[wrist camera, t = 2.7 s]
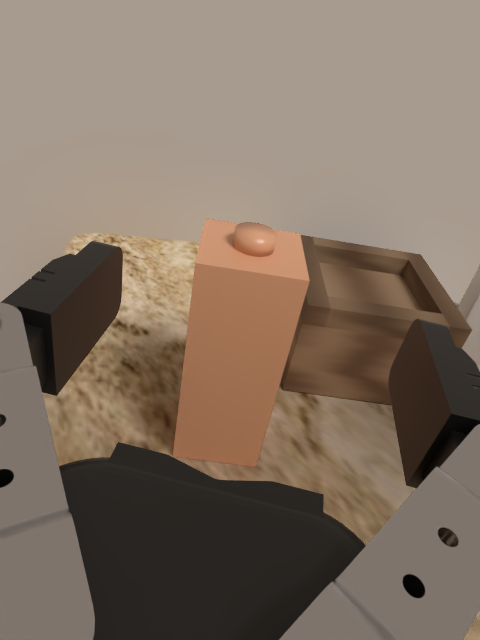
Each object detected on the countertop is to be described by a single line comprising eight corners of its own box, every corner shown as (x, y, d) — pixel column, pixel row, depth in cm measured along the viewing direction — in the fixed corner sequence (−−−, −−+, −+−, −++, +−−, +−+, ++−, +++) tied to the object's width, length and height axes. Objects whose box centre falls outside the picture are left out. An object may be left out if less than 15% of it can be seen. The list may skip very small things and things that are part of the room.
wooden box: (390, 324, 42) (420, 254, 38) (426, 409, 33) (472, 330, 29) (276, 307, 42) (295, 234, 37) (282, 389, 33) (307, 304, 28)
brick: (255, 406, 31) (303, 219, 23) (255, 467, 27) (314, 264, 19) (183, 396, 30) (207, 203, 23) (172, 456, 26) (197, 246, 19)
